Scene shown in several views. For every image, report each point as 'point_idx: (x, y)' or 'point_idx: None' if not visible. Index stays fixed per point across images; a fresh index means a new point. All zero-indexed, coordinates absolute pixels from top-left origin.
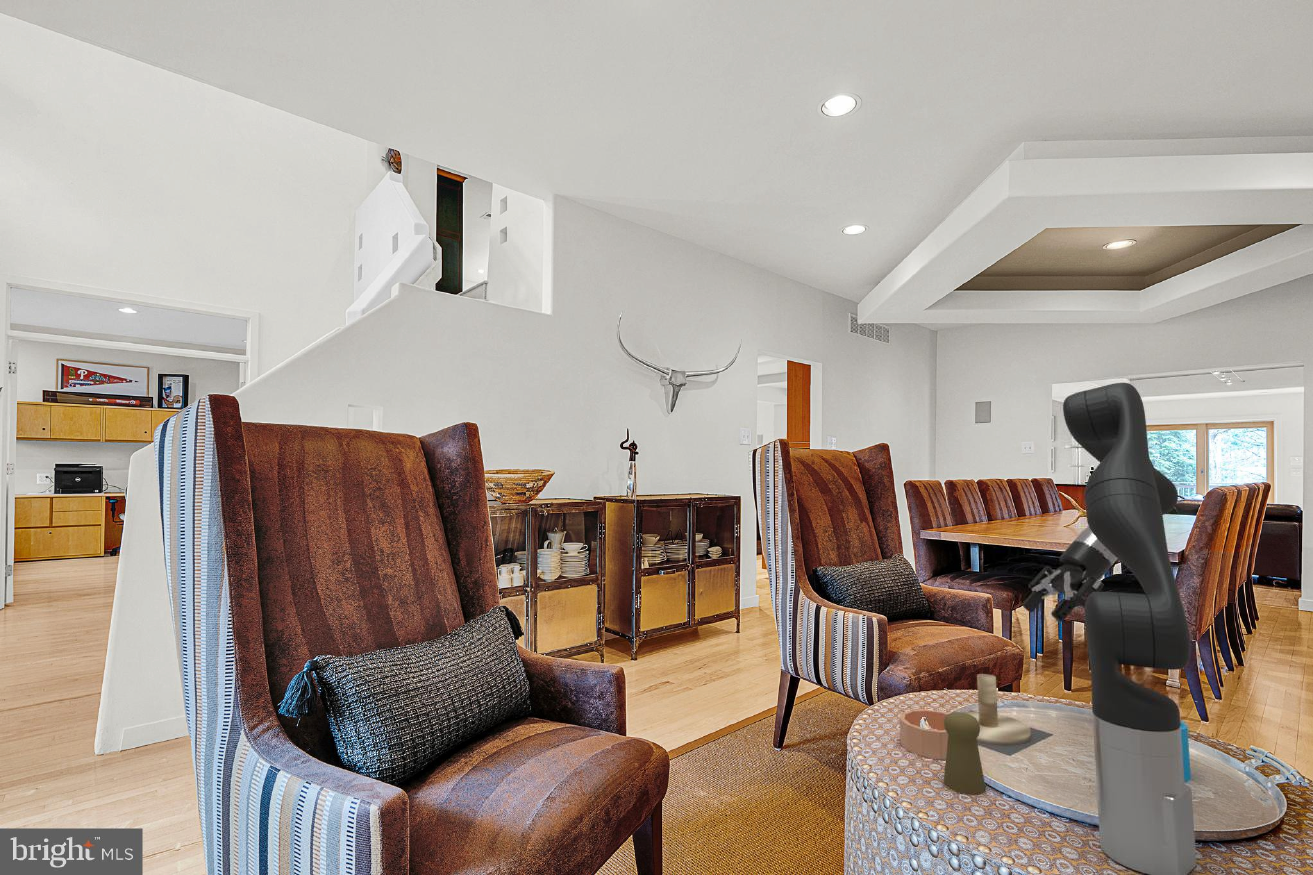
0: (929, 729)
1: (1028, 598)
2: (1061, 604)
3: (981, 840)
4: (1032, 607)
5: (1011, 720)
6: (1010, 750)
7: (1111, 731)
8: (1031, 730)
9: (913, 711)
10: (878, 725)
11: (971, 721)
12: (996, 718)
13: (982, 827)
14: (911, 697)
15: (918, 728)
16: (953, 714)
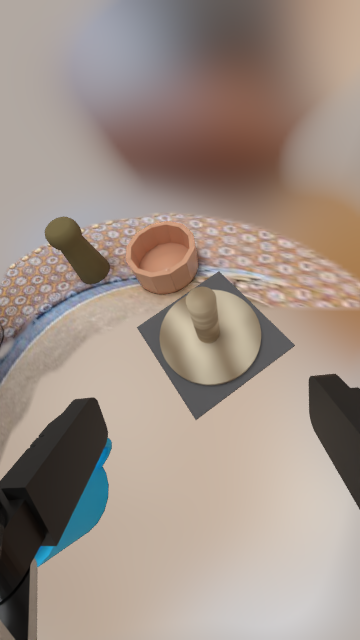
0: (134, 239)
1: (352, 407)
2: (33, 451)
3: (32, 259)
4: (322, 431)
5: (224, 370)
6: (149, 334)
7: None
8: (210, 394)
9: (188, 235)
10: (230, 233)
11: (45, 232)
12: (197, 334)
13: (43, 264)
14: (354, 284)
15: (139, 231)
16: (59, 219)
